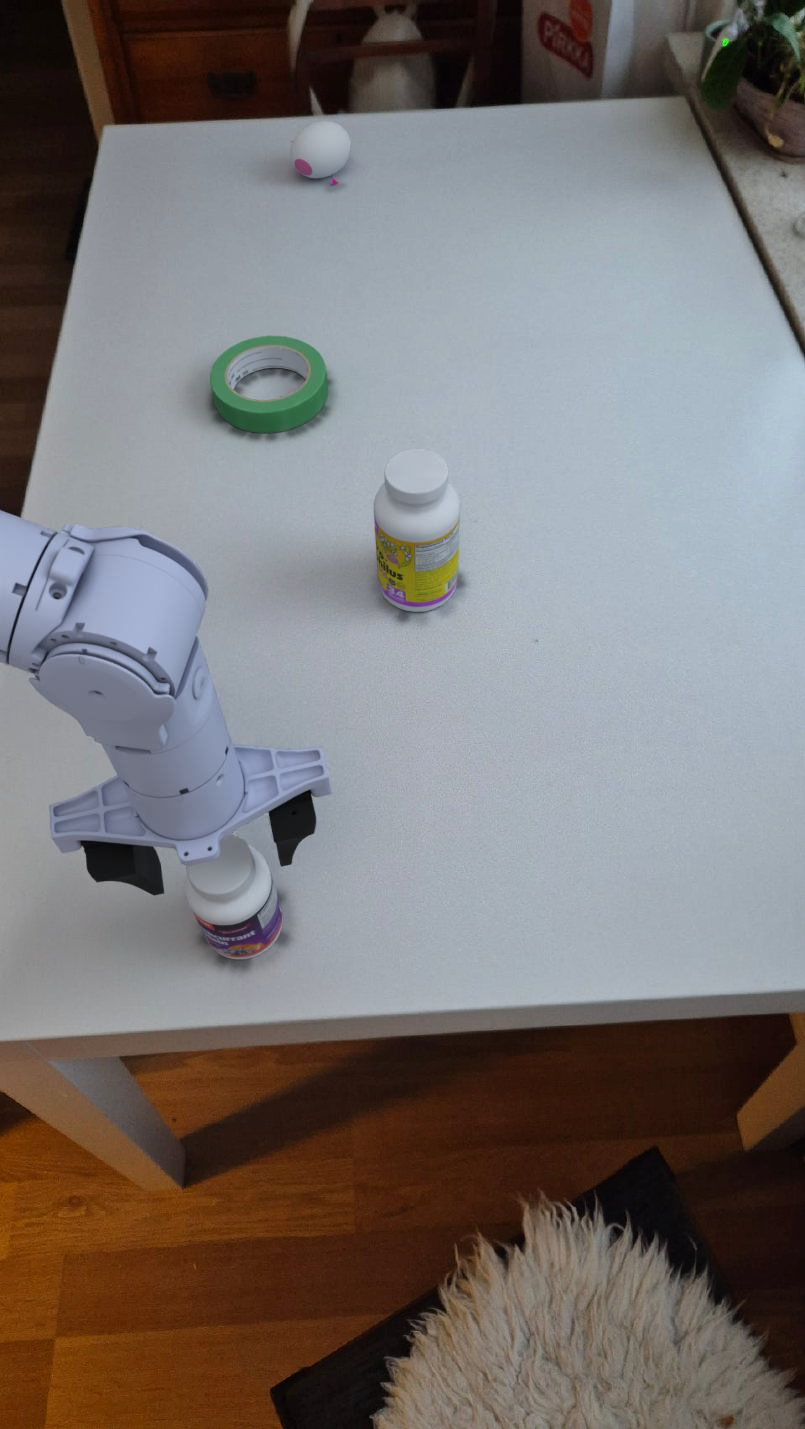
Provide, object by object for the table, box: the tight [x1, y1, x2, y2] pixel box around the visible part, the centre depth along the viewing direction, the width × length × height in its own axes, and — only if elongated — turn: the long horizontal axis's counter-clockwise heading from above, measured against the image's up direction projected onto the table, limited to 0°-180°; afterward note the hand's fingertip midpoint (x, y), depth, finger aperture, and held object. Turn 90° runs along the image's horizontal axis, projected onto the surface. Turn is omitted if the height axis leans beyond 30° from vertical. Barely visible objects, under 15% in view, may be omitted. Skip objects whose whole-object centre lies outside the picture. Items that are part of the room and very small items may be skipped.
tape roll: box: [209, 335, 329, 434], centre depth 97 cm, size 11×11×3 cm
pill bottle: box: [184, 833, 284, 960], centre depth 64 cm, size 5×5×10 cm
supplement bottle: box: [373, 448, 461, 613], centre depth 79 cm, size 7×7×13 cm
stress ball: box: [289, 120, 352, 186], centre depth 118 cm, size 8×8×7 cm
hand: (220, 865), depth 60 cm, fingers open, 7 cm apart
